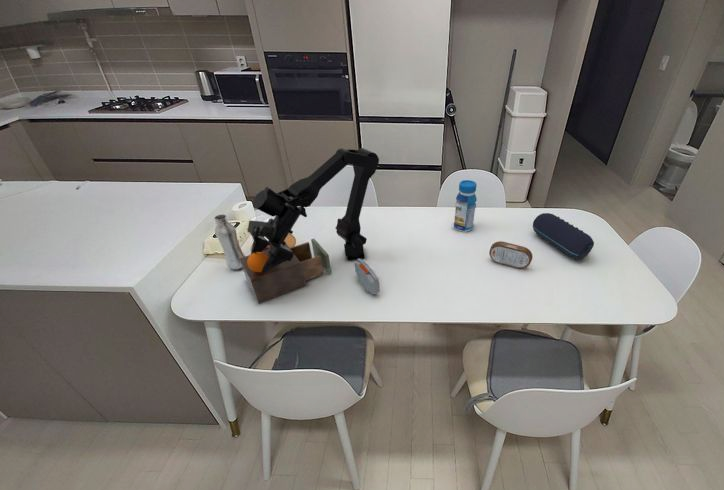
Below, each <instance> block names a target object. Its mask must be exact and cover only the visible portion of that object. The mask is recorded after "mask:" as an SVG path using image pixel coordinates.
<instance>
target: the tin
mask: <svg viewBox="0 0 724 490" xmlns="http://www.w3.org/2000/svg"><path fill="white" fill-rule="evenodd" d="M489 257H490V259H491V260H492V261H493V262H495V263H496V264H500V265H504V266H508V267H512V268H515V269H526V268H528V267H529V266H530V264H531V263H532V261H533V257H534V255H533V253H532V251H531V250H530V249H529V248H528V247H526V246H523V245H519V244H515V243H510V242H506V241H502V240H500V241H496V242H493V243H492V244H491V245H490V248H489Z"/></svg>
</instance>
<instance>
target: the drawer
mask: <svg viewBox="0 0 724 490" xmlns="http://www.w3.org/2000/svg"><path fill="white" fill-rule="evenodd" d="M310 242H311V245H310ZM310 242H309V241H305V242H303V243H300V244H297V245H293V246H290V247H289V248H290V249H291V251H292V252H293V253H294V255H295V256H296V257H297V259H298V260H299V261H300V263H301V266H302V271H303V275H304V279H305V281H309V280H311V279H314V278H316V277H319V276H322V275H324V274H325V273H324V271H325V272H326V273H327V274H328V275H329V274H332V267H331V261H330V254H329V253H328V251H326V249H324V247H322V246H321V245H320V243H319V242H318V241H317V240H316V239H315V238H311V239H310ZM311 247H312V251H311ZM312 252H313V256H312Z"/></svg>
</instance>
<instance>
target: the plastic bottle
mask: <svg viewBox="0 0 724 490" xmlns="http://www.w3.org/2000/svg"><path fill="white" fill-rule="evenodd" d="M214 221H215V224H216V225H215V229H214V234H215V236H216V239H217V240H218V242H219V243H220V246H221V248H222V250H223V254H224V257H225V263H226V265H227V267H228V268H230V269H231V270H240V269H243V268H242V265H241V262H240V259H239V258H243V257H246V256H245V253H244V252H243V250H242V248H241V246H240V243H239V240H238V235H237V229H236V227H235V225H233V224H232V223H230V222H229V219H228V217H227V215H226V214H218V215H215V216H214Z"/></svg>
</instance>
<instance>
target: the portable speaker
mask: <svg viewBox="0 0 724 490" xmlns="http://www.w3.org/2000/svg"><path fill="white" fill-rule="evenodd" d="M532 229H533V231H534V233H535V234H536V235H537V236H538V237H540V238H541V239H543V240H544V241H546V242H547V243H548V244H550V245H552V246H553V247H555V248H557V249H558V251H559V250H560V251H561V252H562V253H564V254H565V255H566V256H568V257H570V258H572V259H573V260H576V261H581V260H583V259H585V257H587V256H588V255H589V254H590V253H591V251H592V249H593V248H594V246H595V245H594V244H595V242H594V239H593V238H592V236H591V235H589V234H588V233H586V232H584V231H583V229H579V228H578V227H577V226H574V224H571V223H570V222H569V221H565V219H563V218H561V217H560V216H557V215H555V214H554V213H549V212H544V213H540V214H538V215H537V216H536V217H535V218H534V220H533V222H532Z"/></svg>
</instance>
